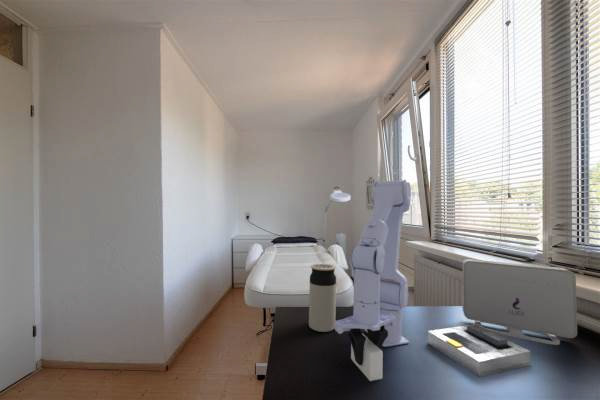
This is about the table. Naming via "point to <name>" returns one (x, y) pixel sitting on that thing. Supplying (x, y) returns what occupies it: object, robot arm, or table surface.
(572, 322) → the network device
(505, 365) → the rack
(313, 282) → the travel mug
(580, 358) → the table surface
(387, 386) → the table surface
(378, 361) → the rectangular block
